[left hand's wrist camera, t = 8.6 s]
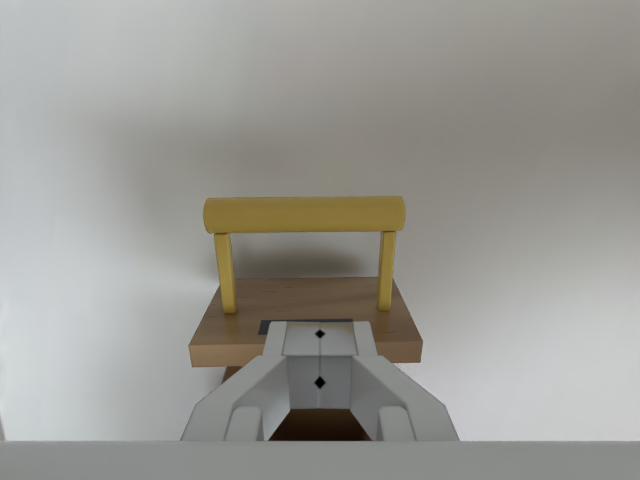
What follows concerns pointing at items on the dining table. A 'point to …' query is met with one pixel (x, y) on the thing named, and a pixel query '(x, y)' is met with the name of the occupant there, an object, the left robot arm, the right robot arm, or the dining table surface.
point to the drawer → (303, 295)
